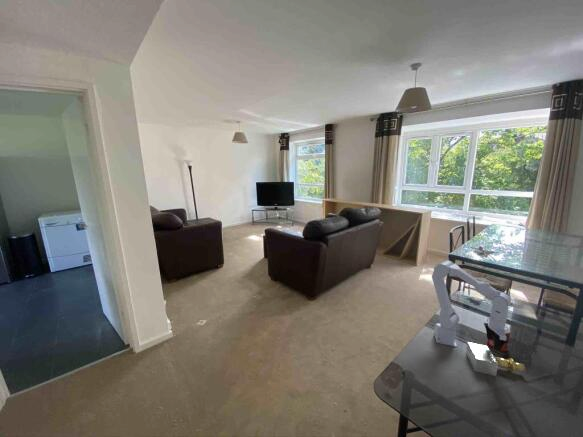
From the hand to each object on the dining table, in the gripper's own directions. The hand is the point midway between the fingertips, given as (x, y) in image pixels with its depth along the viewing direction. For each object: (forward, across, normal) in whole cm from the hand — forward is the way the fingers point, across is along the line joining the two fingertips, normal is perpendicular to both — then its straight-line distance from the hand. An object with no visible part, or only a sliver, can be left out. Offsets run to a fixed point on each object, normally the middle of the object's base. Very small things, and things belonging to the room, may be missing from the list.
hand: (493, 344), depth 112 cm
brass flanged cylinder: (+10, -3, -6) cm, 12 cm away
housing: (+10, -3, +5) cm, 11 cm away
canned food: (+10, +15, -8) cm, 20 cm away
